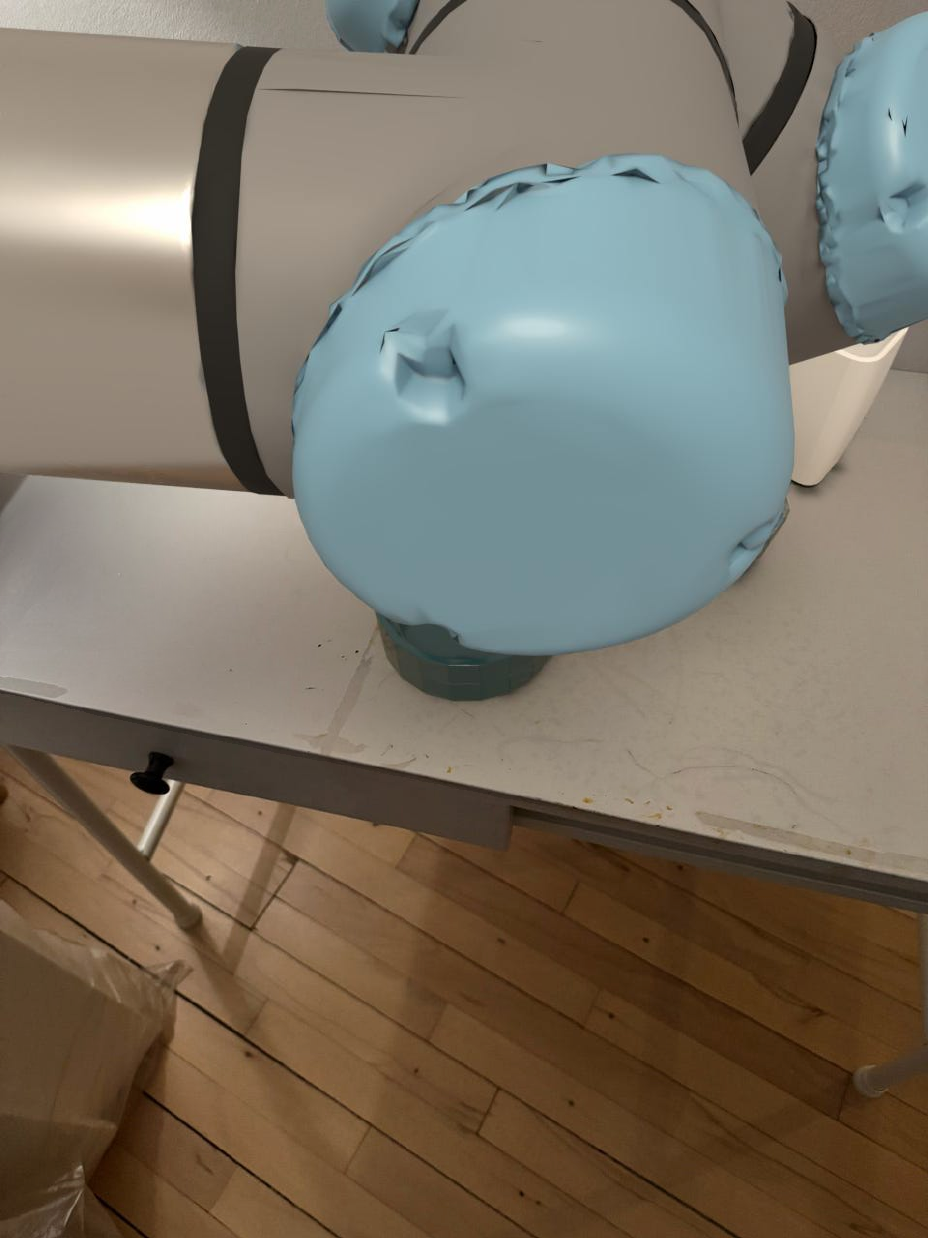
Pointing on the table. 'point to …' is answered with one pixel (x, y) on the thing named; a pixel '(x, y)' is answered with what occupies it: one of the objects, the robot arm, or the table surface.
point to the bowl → (452, 663)
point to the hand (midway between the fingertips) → (402, 436)
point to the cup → (835, 402)
